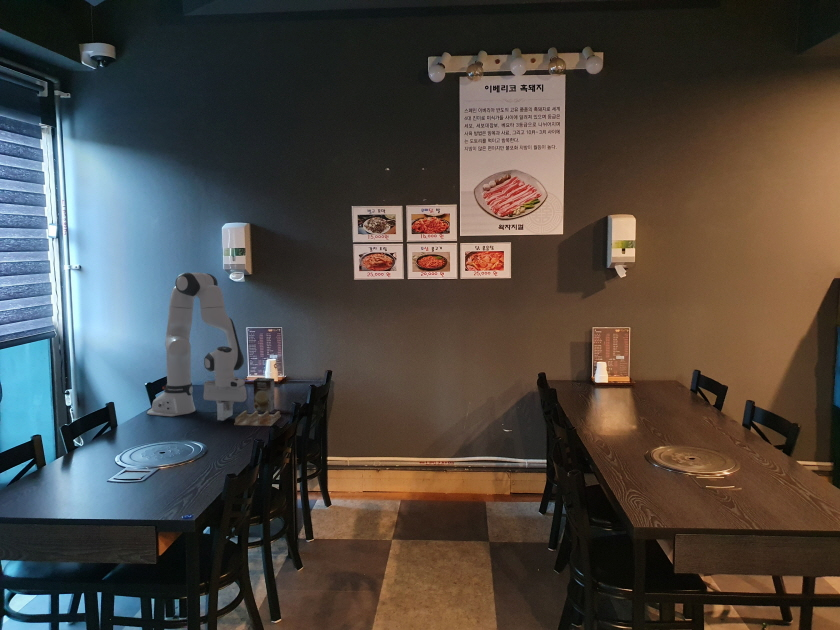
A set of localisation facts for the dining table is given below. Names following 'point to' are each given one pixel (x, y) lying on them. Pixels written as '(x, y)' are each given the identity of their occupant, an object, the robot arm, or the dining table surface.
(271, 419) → the rack
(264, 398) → the coffee box
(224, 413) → the panel
